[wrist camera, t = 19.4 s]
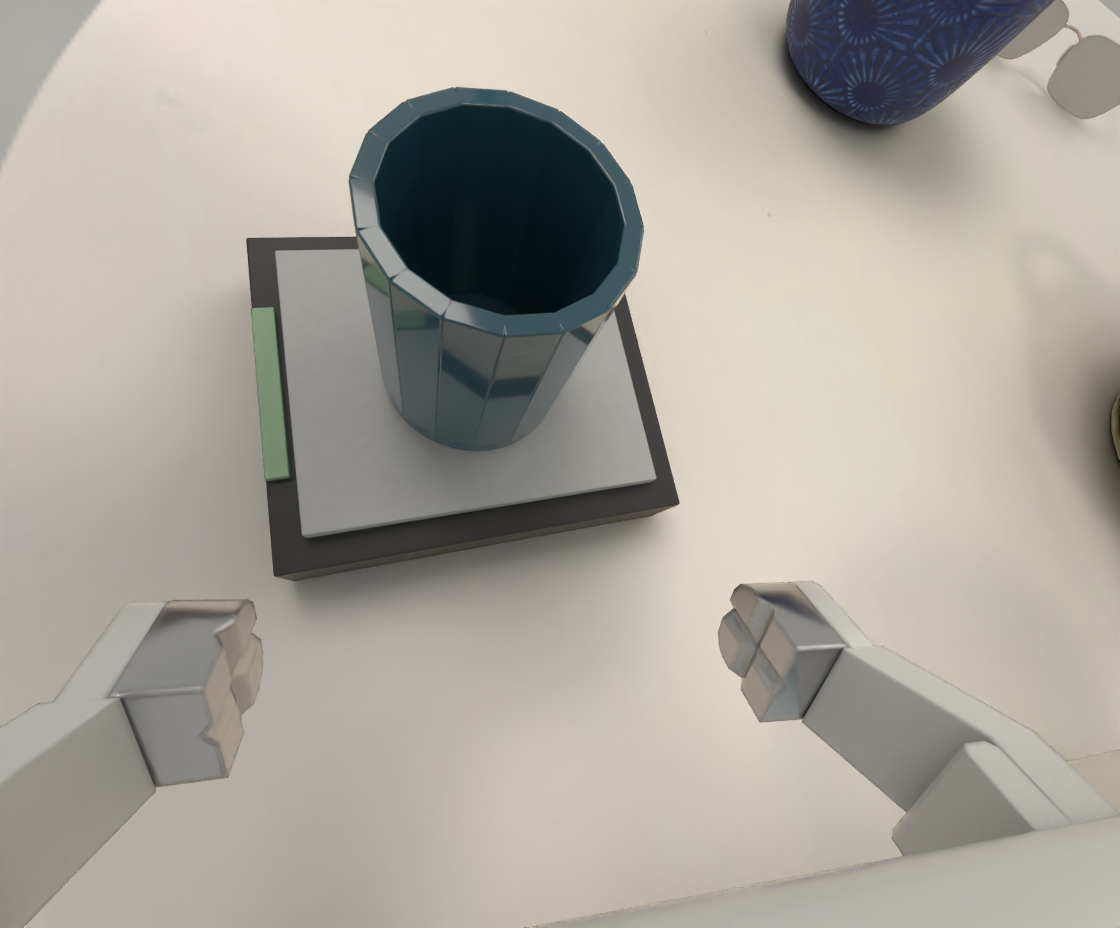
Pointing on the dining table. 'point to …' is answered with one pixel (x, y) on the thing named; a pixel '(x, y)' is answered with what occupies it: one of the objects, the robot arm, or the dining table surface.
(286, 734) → the dining table surface
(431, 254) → the cup
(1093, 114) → the eyeglasses
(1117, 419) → the ceramic bowl
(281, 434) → the scale
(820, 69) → the planter
